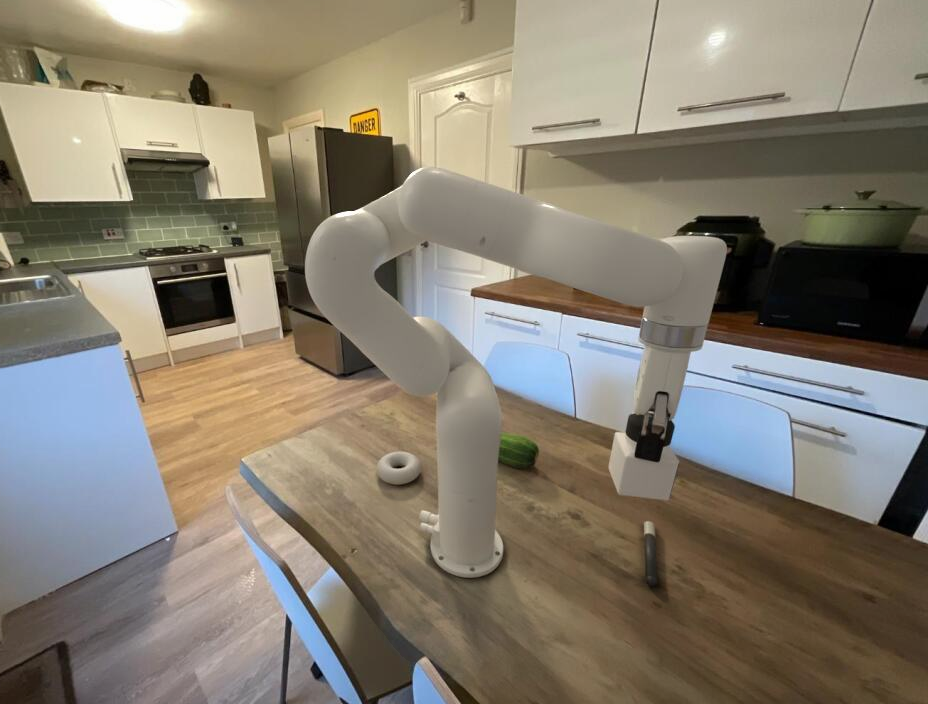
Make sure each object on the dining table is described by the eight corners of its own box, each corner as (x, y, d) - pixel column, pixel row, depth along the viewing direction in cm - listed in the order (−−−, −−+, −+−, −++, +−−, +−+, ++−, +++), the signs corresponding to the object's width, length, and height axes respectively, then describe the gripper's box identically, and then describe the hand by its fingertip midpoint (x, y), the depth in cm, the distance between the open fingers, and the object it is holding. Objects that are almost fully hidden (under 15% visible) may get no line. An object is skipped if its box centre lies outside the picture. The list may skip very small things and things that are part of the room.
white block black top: (669, 502, 60) (688, 431, 56) (617, 496, 61) (632, 427, 57) (654, 472, 66) (670, 407, 62) (607, 467, 68) (619, 404, 63)
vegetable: (534, 442, 86) (457, 415, 98) (526, 475, 86) (449, 444, 98) (546, 442, 92) (472, 417, 104) (538, 473, 92) (465, 444, 104)
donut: (388, 457, 98) (369, 482, 89) (388, 445, 96) (368, 468, 88) (427, 466, 94) (411, 492, 85) (427, 453, 93) (410, 478, 84)
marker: (652, 590, 63) (661, 586, 62) (643, 582, 63) (651, 578, 62) (649, 530, 74) (656, 526, 73) (641, 523, 74) (648, 519, 73)
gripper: (639, 314, 63) (620, 414, 70) (640, 348, 49) (616, 470, 56) (696, 319, 60) (670, 423, 67) (715, 357, 46) (680, 485, 52)
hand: (646, 444), depth 61 cm, fingers closed on white block black top, 7 cm apart
